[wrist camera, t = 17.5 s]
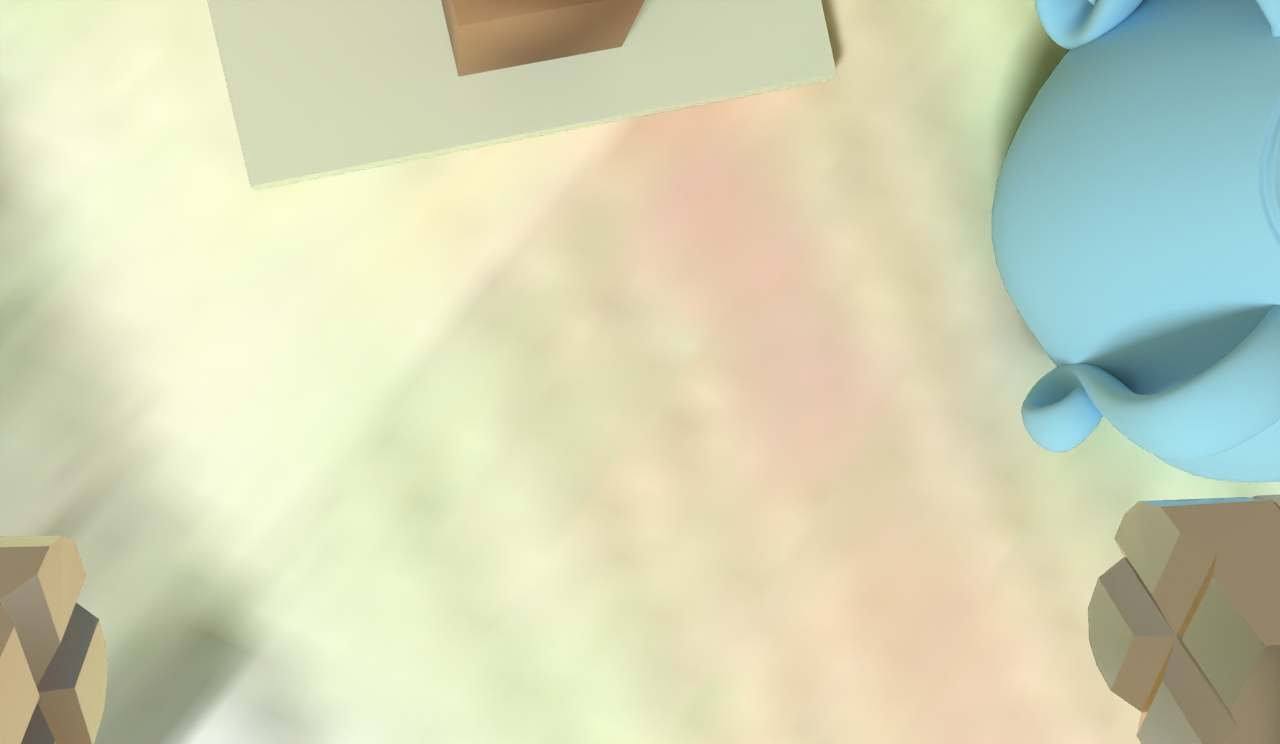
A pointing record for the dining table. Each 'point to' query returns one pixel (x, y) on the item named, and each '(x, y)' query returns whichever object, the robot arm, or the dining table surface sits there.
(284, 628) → the dining table surface
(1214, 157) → the decorative pot
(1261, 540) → the robot arm
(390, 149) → the sage mat
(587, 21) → the walnut block
